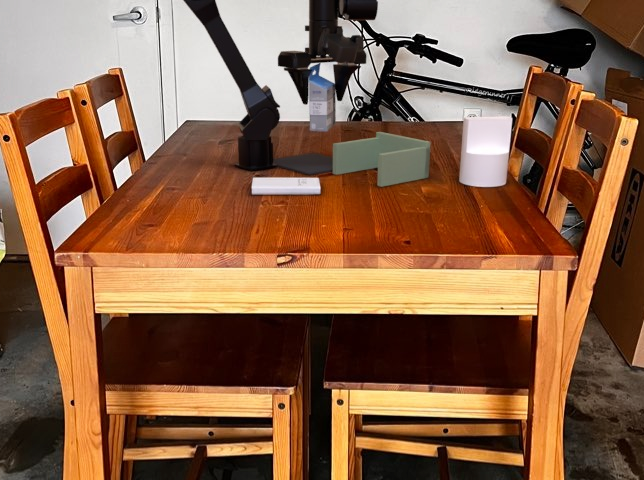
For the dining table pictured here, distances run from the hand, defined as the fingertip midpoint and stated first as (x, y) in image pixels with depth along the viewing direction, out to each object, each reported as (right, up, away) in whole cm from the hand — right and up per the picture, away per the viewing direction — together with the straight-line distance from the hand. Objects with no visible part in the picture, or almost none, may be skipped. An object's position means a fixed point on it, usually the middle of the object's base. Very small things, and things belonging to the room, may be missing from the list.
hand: (322, 102), depth 166 cm
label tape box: (0, -5, +2) cm, 5 cm away
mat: (-2, -11, +6) cm, 13 cm away
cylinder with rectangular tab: (+31, -18, -9) cm, 37 cm away
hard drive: (-7, -21, -15) cm, 27 cm away
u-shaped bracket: (+11, -16, -4) cm, 20 cm away
